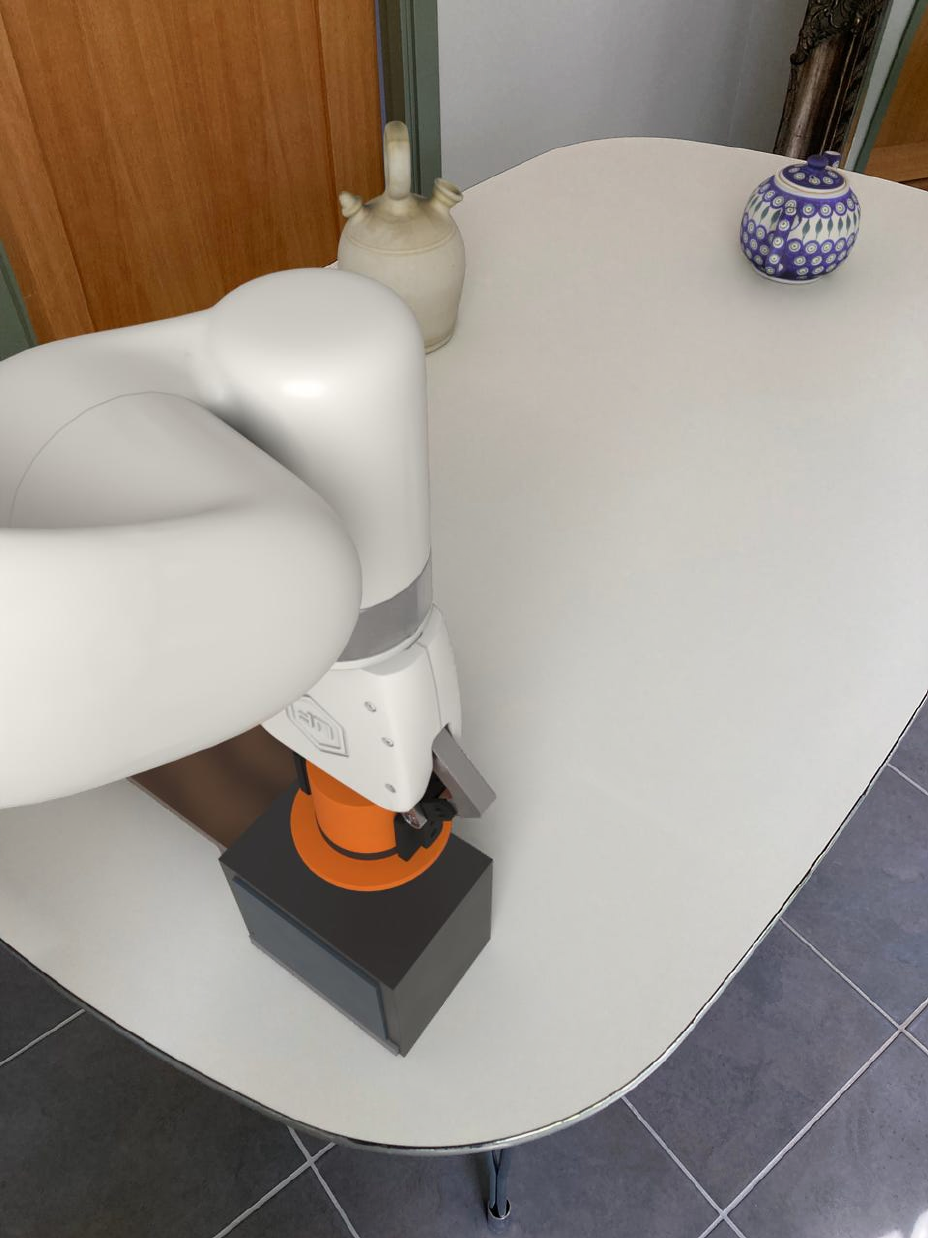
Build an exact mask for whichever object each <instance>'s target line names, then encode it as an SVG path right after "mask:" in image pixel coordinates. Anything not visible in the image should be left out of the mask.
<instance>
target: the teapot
mask: <svg viewBox="0 0 928 1238" xmlns="http://www.w3.org/2000/svg"><path fill="white" fill-rule="evenodd" d="M842 157H843V155H842V154H841V153H840V152H837V151H834V150H833V151H832V150H826V151H823V154H822V155H821V154H811V155H810V156H808V157H807V159H806V162H793V163H789V164H785V165H782V166H780V167H779V168H777V169H776V171H775V173H774V174H773V175H771V176H770V177H768V178H766V179H764V180H763V181H762V182H760V183H759V184H758V186H756V187H755V188H754V190H753V191H752V192H751V194H750V196H749V198H748V199H747V202H746V204H745V206H744V210H743V214H742V217H741V221H740V228H739V229H740V231H739V243H740V248H741V250H742V254H744V256H745V257H746V259H747V260H748V261H749V262H750V266H751V268H752V269H753V271H754V272H755V273H757V274H758V275H759V276H761V277H763V278H765V279H767V280H771V281H774V282H777V283H782V284H788V285H789V284H790V285H807V284H811V283H815V282H817V281H818V280H820V279H821V278H823V277H824V276H825V275H828V274H830V273H831V272H833V271H835V270H836V269H838V268H839V267H841V265H842V264H843V263H844V262H845V261H846V260H847V258H848V257H849V255H850V253H851V251H852V249H853V248H854V245H855V243H856V240H857V238H858V235H859V231H860V224H861V216H862V213H861V205H860V202H859V199H858V197H857V195H856V194H855V192H854V191H853V190H852V188H851V187H850V186H851V181H850V179H849V177H848V175H846V173H844V172H843V171H841V170H839V169H838V168H839V165H840V162H841V160H842Z"/></svg>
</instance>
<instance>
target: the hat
mask: <svg viewBox="0 0 928 1238" xmlns="http://www.w3.org/2000/svg"><path fill="white" fill-rule="evenodd" d="M306 768H307V773H308V778H309V783H310V788H311V792H312V795H307V794H306V793H304V792H303V791H301V789H300V788H299V790H298V792H297V794H296V796H295V799H294V802H293V805H292V811H291V832H292V837H293V840H294V844H295V847H296V849H297V851H298V853H299V855H300V857H301V858H302V860H303V861H304V863H305V864H306V865H307V866H308V867H309V868H310V869H311V870H312V871H313V872H314V873H315V874H317V875H318V876H319V877H321V878H322V879H324V880H326V881H327V882H329V883H332V884H334V885H336V886H339V887H342V888H346V889H350V890H357V891H377V890H384V889H389V888H393V887H396V886H399V885H402V884H404V883H406V882H408V881H410V880H412V879H414V878H415V877H417V876H418V875H420V874H421V873H423V872H424V871H425V870H426V869H427V868H429V867H430V866H431V865H432V863H433V862H434V861H435V860H436V859H437V858H438V856H439V855H440V853H441V852H442V851H443V849H444V847H445V845H446V843H447V841H448V838H449V835H450V832H452V826H453V819H452V820H451V821H443V829H442V831H441V833H440V835H439V837H438V838H437V839H436V840H435V842H434V843H433V844H432V845H431V846H430V847H429V848H428V849H425V848H424V847H422V846H421V847H420V848H419V849H418V850H417V852H416V853H415V854H414V855H413V856H412V858H411V859H410V860H409V861H407V862H406V861H404V860H403V859H401V858H400V857H398V853H397V852H396V842H395V831H394V817H395V816H396V814H397V813H398V812H395V811H391V810H387V809H385V808H382V807H380V806H378V805H377V804H375V803H373V802H372V801H370V800H368V799H367V798H365V797H364V796H362V795H360V794H359V793H357V792H356V791H354V790H353V789H351V788H350V787H348V786H346V785H345V784H343V783H342V782H340V781H339V780H337V779H336V778H334V777H333V776H331V775H330V774H328V773H327V772H325V771H323V770H322V769H320V768H319V767H317V766H316V765H314V764H313V763H311V762H310V761H308V760H307V759H306Z"/></svg>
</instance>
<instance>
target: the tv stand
mask: <svg viewBox="0 0 928 1238" xmlns="http://www.w3.org/2000/svg"><path fill="white" fill-rule="evenodd" d="M293 752H294V750H292V749H291V748H289V747H288V746H286V745H285V744H283V743H282V742H281V741H279V740H278V739H276V738H275V737H274V736H273V735H271V734H270V733H269V732H268V731H267V730H266V729H265V728H264V727H263V726H262V725H261V724H259V725H257V726H255V727H253V728H252V729H250V730H248V731H246V732H244V733H242V734H239V735H237V736H235V737H233V738H230V739H228V740H226V741H224V742H221V743H219V744H217V745H215V746H213V747H210V748H207V749H204V750H201V751H198V752H196V753H193V754H191V755H188V756H186V757H183V758H181V759H178V760H175V761H172V762H169V763H167V764H164V765H161V766H158V767H155V768H152V769H149V770H146V771H143V772H141V773H138V774H135V775H132V776H129V777H126V778H125V779H126V780H127V781H129V782H130V783H131V784H133V785H134V786H135V787H137V788H138V789H139V790H140V791H142V792H143V793H145V794H146V795H147V796H149V797H150V798H151V799H153V800H154V801H155V802H157V803H158V804H160V806H162V807H164V808H165V809H166V810H167V811H169V812H170V813H172V814H173V815H174V816H175V817H177V818H178V819H179V820H181V821H182V822H184V823H185V824H186V825H188V826H189V827H190V828H192V829H193V830H194V831H195V832H197V833H198V834H200V835H201V836H202V837H204V838H205V839H207V840H208V841H209V842H210V843H212V844H213V845H215V847H217V848H218V850H219V853H220V856H221V855H222V854H223V853H224V852H225V851H226V850H227V849H228V848H229V847H230V846H231V845H232V844H233V843H234V842H235V841H236V840H237V839H238V838H239V837H240V836H241V835H242V834H243V833H244V832H245V831H246V830H247V829H248V827H249V826H250V825H251V824H252V823H253V822H254V821H255V820H256V819H257V818H258V817H259V816H260V815H261V814H262V813H263V812H264V811H265V810H266V809H267V808H268V807H269V806H270V805H271V804H272V803H273V802H274V801H275V800H276V799H277V798H278V797H279V796H280V795H281V794H282V792H283V791H284V790H285V789H286V788H287V787H288V786H289V785H290V784H291V783H292V782H293V781H294V780H295V779H296V778H297V777H298V775H297V771H296V767H295V762H294V758H293Z"/></svg>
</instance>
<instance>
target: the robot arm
mask: <svg viewBox="0 0 928 1238" xmlns="http://www.w3.org/2000/svg"><path fill="white" fill-rule="evenodd" d="M428 414H429V413H428V381H427V359H426V354H425V348H424V338H423V334H422V330H421V327H420V325H419V323H418V320H417V318H416V316H415V314H414V312H413V310H412V309H411V308H410V307H409V305H408V304H407V303H406V301H405V300H404V299H403V298H402V297H401V296H400V295H399V294H398V293H397V292H395V291H394V290H393V289H392V288H390V287H388V286H386V285H385V284H383V283H381V282H379V281H377V280H375V279H373V278H371V277H368V276H365V275H363V274H360V273H356V272H351V271H347V270H341V269H338V268H333V267H299V268H298V267H297V268H292V269H286V270H279V271H276V272H270V273H267V274H265V275H264V274H263V275H262V276H259V277H255V278H253V279H251V280H249V281H247V282H244V283H242V284H240V285H239V286H238V287H236V288H235V289H233V290H231V291H230V292H228V293H227V294H226V295H225V296H223V297H222V298H221V299H220V300H219V301H218V302H217V303H215V304H214V305H213V306H211V307H209V308H206V309H201V310H198V311H194V312H190V313H186V314H182V315H178V316H174V317H169V318H163V319H159V320H154V321H148V322H144V323H140V324H133V325H128V326H123V327H118V328H112V329H107V330H102V331H97V332H91V333H86V334H81V335H76V336H71V337H67V338H62V339H58V340H54V341H50V342H47V343H44V344H40V345H37V346H34V347H31V348H28V349H25V350H23V351H21V352H18V353H16V354H14V355H12V356H9V357H7V358H6V359H3V360H1V361H0V810H5V809H12V808H17V807H22V806H23V807H25V806H31V805H37V804H41V803H44V802H50V801H53V800H56V799H61V798H66V797H69V796H73V795H76V794H80V793H83V792H86V791H90V790H93V789H96V788H99V787H103V786H105V785H109V784H111V783H115V782H117V781H120V780H124V779H126V777H129V776H132V775H135V774H138V773H141V772H143V771H146V770H149V769H152V768H155V767H158V766H161V765H164V764H167V763H169V762H172V761H175V760H178V759H181V758H183V757H186V756H188V755H191V754H193V753H196V752H198V751H201V750H204V749H207V748H210V747H213V746H215V745H217V744H219V743H221V742H224V741H226V740H228V739H230V738H233V737H235V736H237V735H239V734H242V733H244V732H246V731H248V730H250V729H252V728H253V727H255V726H257V725H259V724H261V725H262V726H263V727H264V728H265V729H266V730H267V731H268V732H269V733H270V734H271V735H273V736H274V737H275V738H276V739H278V740H279V741H281V742H282V743H283V744H285V745H286V746H288V747H289V748H291V749H292V750H294V752H293V758H294V762H295V767H296V771H297V775H298V780H299V784H300V789H301V791H303V792H304V793H306V794H307V795H312V792H311V788H310V783H309V778H308V773H307V768H306V759H307V760H308V761H310V762H311V763H313V764H314V765H316V766H317V767H319V768H320V769H322V770H323V771H325V772H327V773H328V774H330V775H331V776H333V777H334V778H336V779H337V780H339V781H340V782H342V783H343V784H345V785H346V786H348V787H350V788H351V789H353V790H354V791H356V792H357V793H359V794H360V795H362V796H364V797H365V798H367V799H368V800H370V801H372V802H373V803H375V804H377V805H378V806H380V807H382V808H385V809H387V810H391V811H395V812H398V813H397V814H396V816H395V817H394V831H395V842H396V852H397V853H398V857H400V858H401V859H403V860H404V861H406V862H407V861H409V860H410V859H411V858H412V856H413V855H414V854H415V853H416V852H417V850H418V849H419V848H420V847H421V846H422V847H424V848H425V849H428V848H429V847H430V846H431V845H432V844H433V843H434V842H435V840H436V839H437V838H438V837H439V835H440V833H441V831H442V829H443V821H451V820H452V821H453V820H454V818H455V817H459V818H460V819H481V818H482V817H483V816H484V815H485V814H486V812H487V811H488V810H489V809H490V808H491V806H492V805H493V804H494V803H495V801H496V800H497V794H496V793H495V791H494V790H493V789H492V787H491V786H490V785H489V783H488V782H487V781H486V780H485V777H483V776H482V775H481V773H480V772H479V770H478V769H477V768H476V766H475V765H474V764H473V762H472V761H471V760H470V759H469V757H468V756H467V754H466V753H465V752H464V751H463V749H462V747H461V745H462V736H463V735H462V734H463V719H462V716H463V715H462V701H461V691H460V683H459V677H458V676H459V675H458V669H457V665H456V660H455V654H454V650H453V645H452V642H451V638H450V634H449V630H448V627H447V624H446V621H445V617H444V614H443V612H442V610H441V609H440V608H439V607H438V606H437V605H436V604H435V603H434V593H433V592H434V590H433V588H434V587H433V557H432V555H433V554H432V518H431V517H432V515H431V482H430V481H431V479H430V451H429V449H430V447H429V444H430V443H429V415H428Z"/></svg>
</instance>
